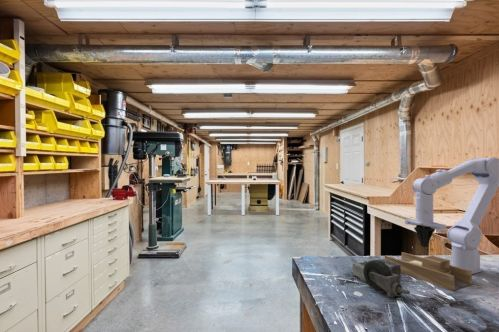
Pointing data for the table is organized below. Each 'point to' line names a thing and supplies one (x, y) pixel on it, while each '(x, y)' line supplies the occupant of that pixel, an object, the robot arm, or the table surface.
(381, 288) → the caster wheel
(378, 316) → the table surface
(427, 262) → the walnut block
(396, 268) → the stone block
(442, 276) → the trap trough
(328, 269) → the table surface
